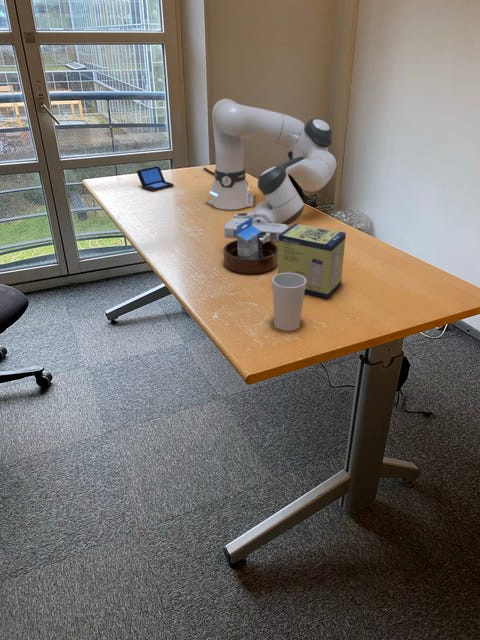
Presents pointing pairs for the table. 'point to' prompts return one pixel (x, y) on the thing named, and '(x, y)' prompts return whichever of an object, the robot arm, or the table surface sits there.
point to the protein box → (313, 257)
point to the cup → (288, 300)
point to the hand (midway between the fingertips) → (251, 240)
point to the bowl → (251, 265)
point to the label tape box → (249, 241)
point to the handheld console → (152, 179)
